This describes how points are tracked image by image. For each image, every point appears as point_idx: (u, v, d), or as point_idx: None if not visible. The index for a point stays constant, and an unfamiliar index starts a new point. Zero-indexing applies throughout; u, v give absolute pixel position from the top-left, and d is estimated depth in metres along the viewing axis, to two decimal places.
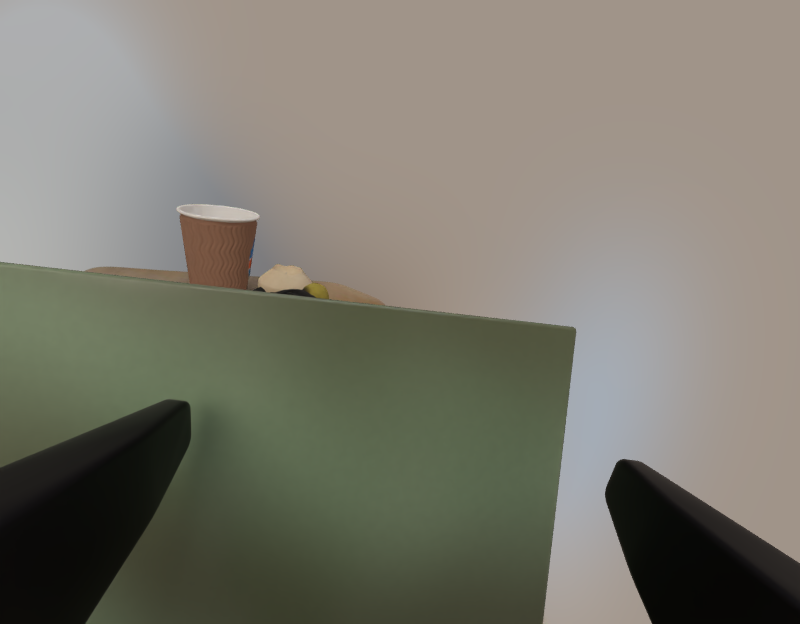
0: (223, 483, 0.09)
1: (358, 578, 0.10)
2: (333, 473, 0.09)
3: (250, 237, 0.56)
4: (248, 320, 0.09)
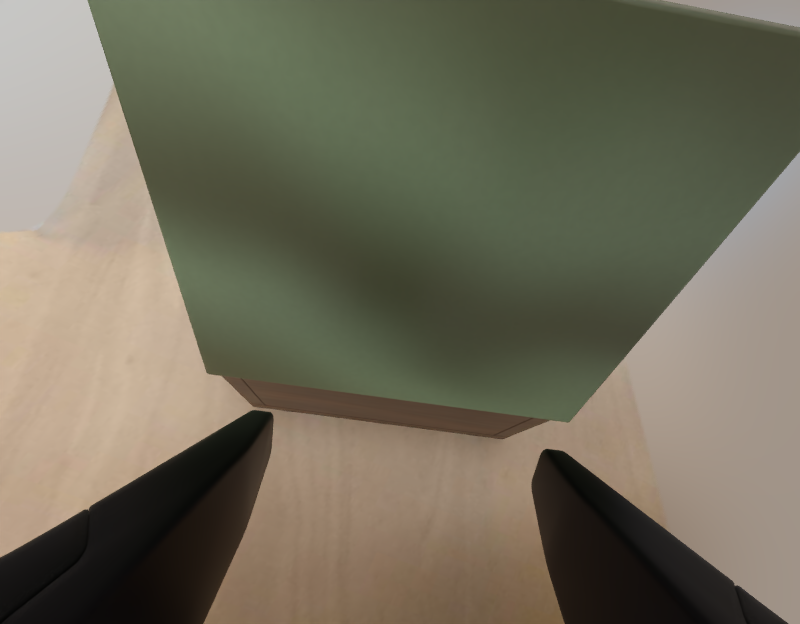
0: (387, 200, 0.09)
1: (495, 287, 0.11)
2: (491, 203, 0.09)
3: None
4: (420, 10, 0.07)
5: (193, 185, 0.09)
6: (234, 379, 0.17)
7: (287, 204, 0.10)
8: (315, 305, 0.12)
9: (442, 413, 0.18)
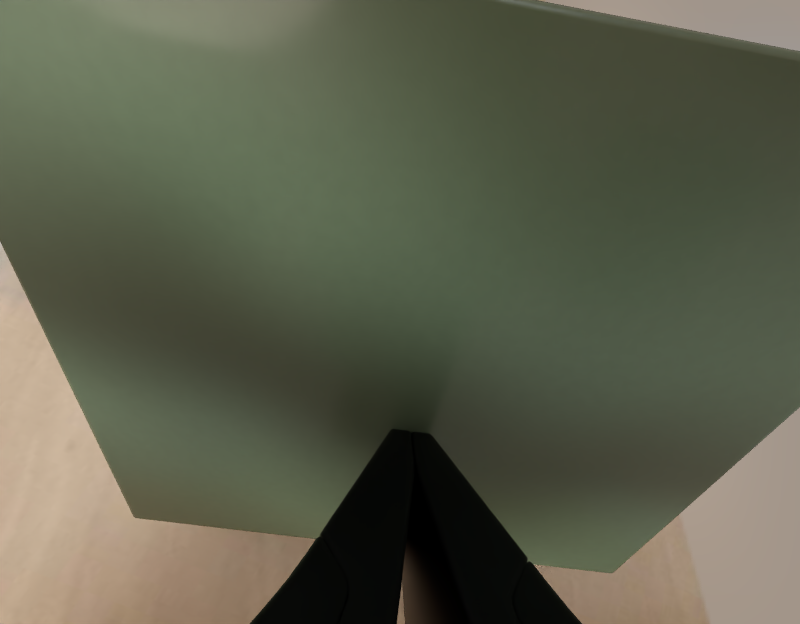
0: (369, 315, 0.07)
1: (521, 422, 0.08)
2: (519, 320, 0.07)
3: None
4: (418, 56, 0.04)
5: (92, 295, 0.07)
6: None
7: (228, 320, 0.07)
8: (274, 442, 0.09)
9: None
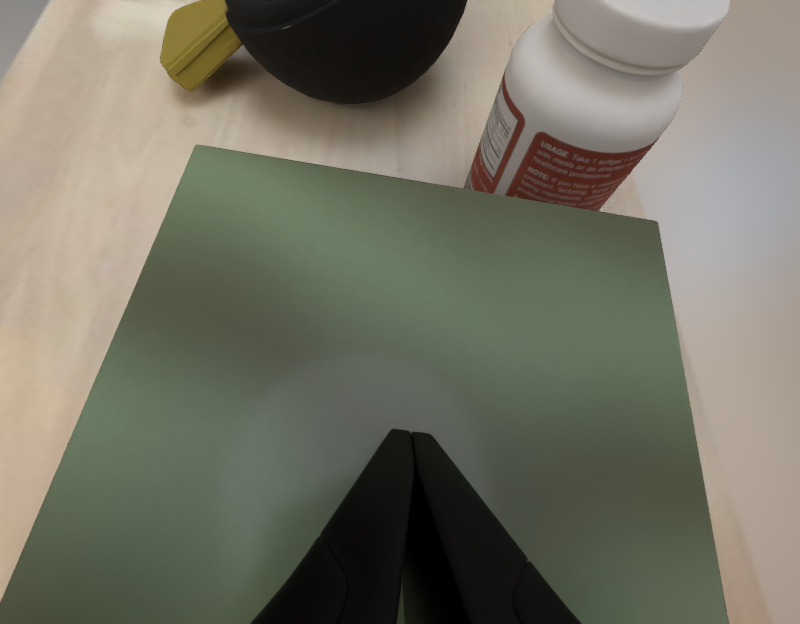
0: (372, 311, 0.10)
1: (499, 414, 0.09)
2: (468, 312, 0.10)
3: None
4: (395, 194, 0.12)
5: (181, 299, 0.10)
6: None
7: (272, 316, 0.10)
8: (267, 465, 0.08)
9: None
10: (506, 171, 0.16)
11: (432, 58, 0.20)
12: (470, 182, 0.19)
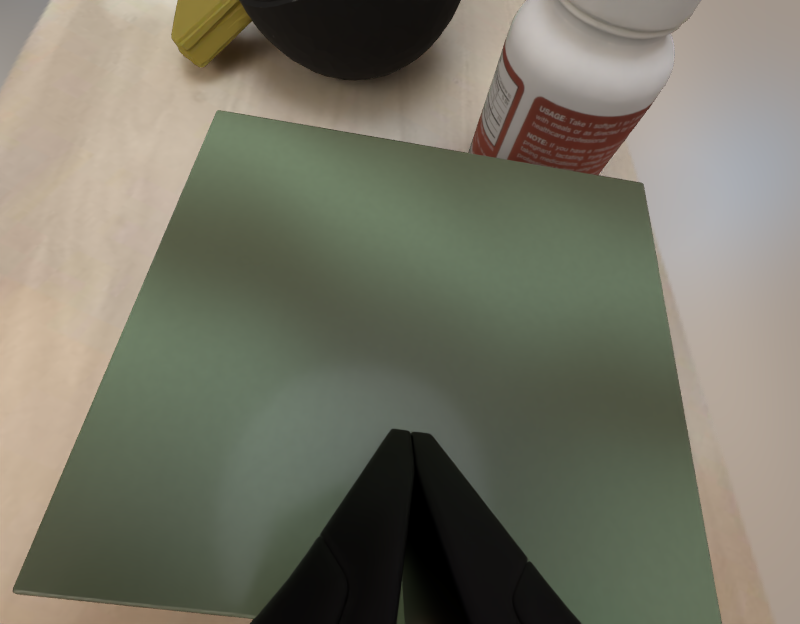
0: (381, 256, 0.11)
1: (497, 346, 0.10)
2: (468, 259, 0.11)
3: None
4: (401, 156, 0.12)
5: (207, 243, 0.11)
6: None
7: (290, 259, 0.11)
8: (287, 385, 0.09)
9: None
10: (506, 138, 0.17)
11: (435, 33, 0.20)
12: (472, 153, 0.20)
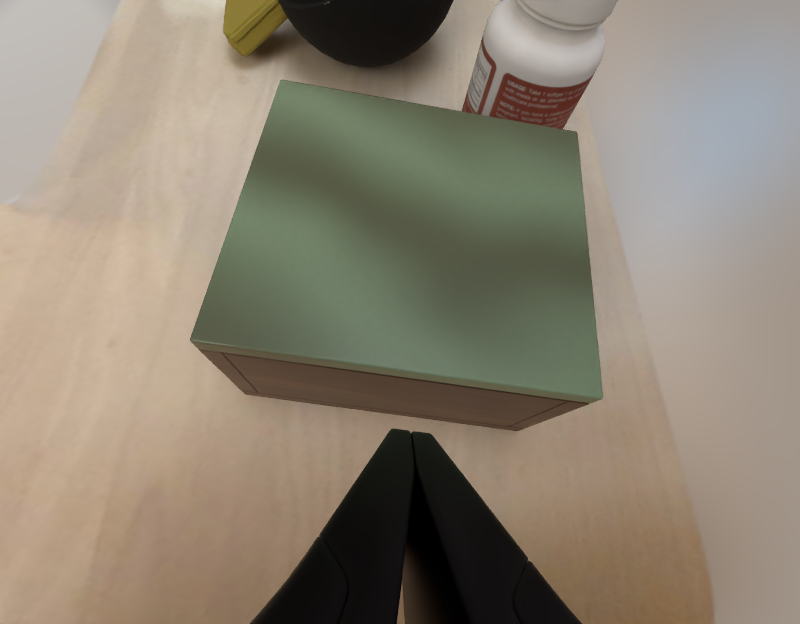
0: (395, 173, 0.17)
1: (470, 228, 0.16)
2: (452, 176, 0.17)
3: None
4: (407, 111, 0.18)
5: (281, 162, 0.16)
6: (221, 361, 0.15)
7: (336, 174, 0.16)
8: (338, 244, 0.15)
9: (454, 401, 0.16)
10: (485, 107, 0.22)
11: (432, 28, 0.26)
12: None
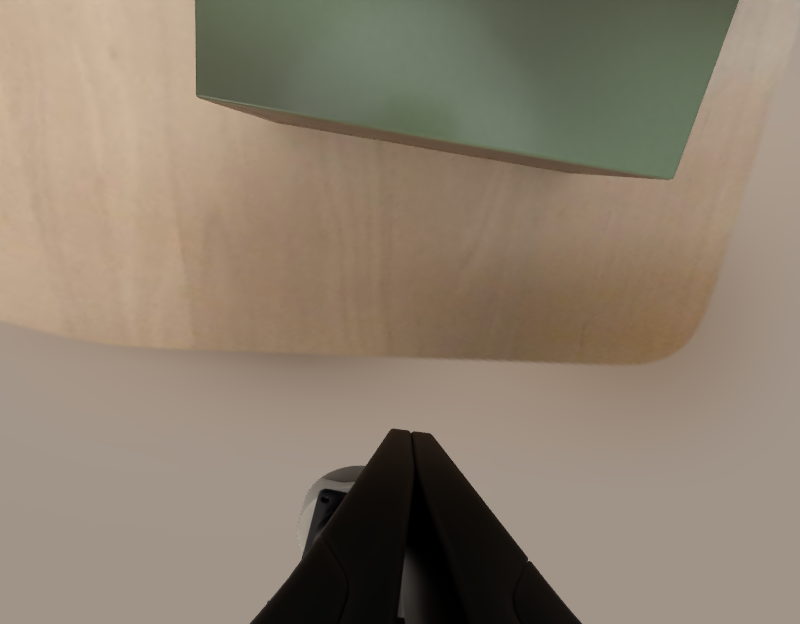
0: None
1: None
2: None
3: None
4: None
5: None
6: (239, 109, 0.13)
7: None
8: None
9: (502, 156, 0.15)
10: None
11: None
12: None
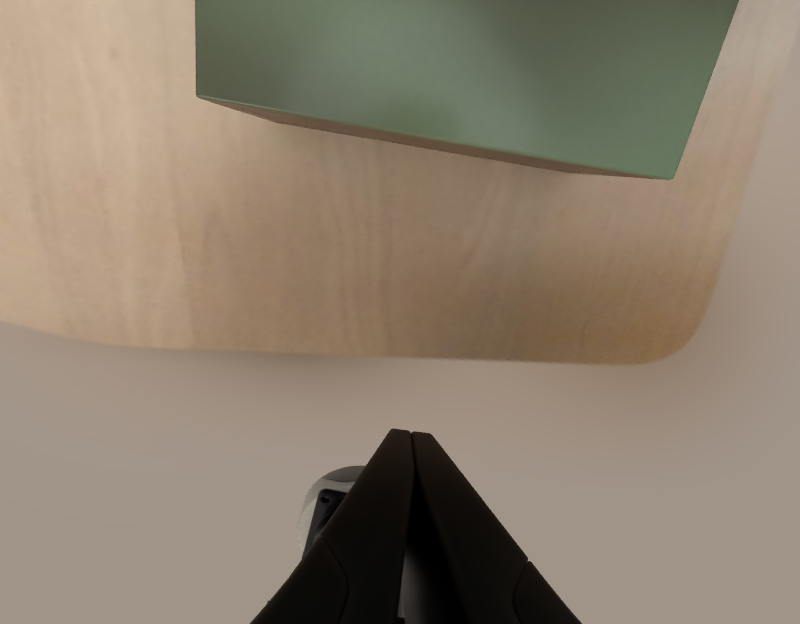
0: None
1: None
2: None
3: None
4: None
5: None
6: (239, 109, 0.13)
7: None
8: None
9: (502, 156, 0.15)
10: None
11: None
12: None
